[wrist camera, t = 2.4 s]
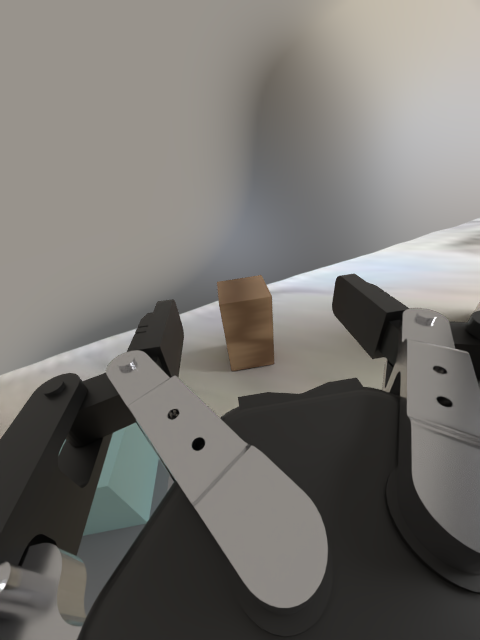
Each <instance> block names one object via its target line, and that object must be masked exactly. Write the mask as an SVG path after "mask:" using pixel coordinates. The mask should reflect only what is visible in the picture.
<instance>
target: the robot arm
mask: <svg viewBox="0 0 480 640" xmlns="http://www.w3.org/2000/svg"><path fill="white" fill-rule="evenodd" d="M332 309H333V313H334V315H335V316H336V317H337V319H338V320H339V321H340V322H341V323H342V324H343V326H344V327H345V328H346V329H347V330H348V331H349V332H350V334H351V335H352V336H353V337H354V338H355V339H356V340H357V342H358V343H359V344H360V345H361V346H362V347H363V349H364V350H365V351H366V352H367V353H368V354H369V355H370V357H371V358H372V359H375V358H382V357H386V358H387V360H386V363H385V366H384V375H383V385H382V390H379V389H375V388H369V387H363V386H362V384H361V383H360V382H359V380H358V379H357V378H352V379H346V380H340V381H334V382H328V383H326V384H323V385H321V386H319V387H316V388H314V389H312V390H309V391H307V392H305V393H302V394H290V393H271V392H267V393H260V394H254V395H248V396H242V397H238V400H239V407H237V408H235V409H233V410H231V411H229V412H228V413H226V414H225V415H223V416H222V417H221V418H219V417H218V416H217V415H216V414H215V413H214V412H213V411H212V410H211V409H210V408H209V407H208V406H207V405H206V404H205V403H204V402H203V401H202V400H201V399H200V398H199V397H198V396H197V395H196V394H194V393H193V392H192V391H191V390H190V389H189V388H188V387H187V386H186V385H185V384H184V383H183V382H182V381H181V380H180V379H179V378H178V376H179V368H180V361H181V354H182V347H183V340H184V332H183V326H182V323H181V320H180V316H179V313H178V309H177V306H176V303H175V301H174V300H173V299H172V300H166V301H158V302H157V304H156V306H155V309H154V312H153V313H148V314H147V315H146V316H144V317H143V318H142V319H141V321H140V324H139V325H138V328H137V330H136V332H135V333H136V334H135V335H134V337H133V339H132V341H131V344H130V346H129V348H128V350H127V352H126V353H123V354H121V355H119V356H118V357H116V358H115V359H113V360H112V361H111V362H110V363H109V365H108V366H107V369H106V373H104V374H101V375H99V376H96V377H93V378H90V379H88V380H85V381H82V380H81V379H80V377H79V376H78V375H76V374H73V373H67V374H62V375H59V376H56V377H54V378H52V379H50V380H48V381H47V382H45V383H44V384H42V385H41V386H40V387H39V388H37V389H36V390H35V392H34V393H33V394H32V395H31V397H30V398H29V400H28V401H27V403H26V404H25V405H24V407H23V408H22V410H21V411H20V412H19V414H18V415H17V417H16V418H15V420H14V421H13V422H12V424H11V425H10V427H9V428H8V429H7V431H6V432H5V434H4V435H3V437H2V438H1V439H0V640H480V302H479V304H478V306H477V308H476V310H475V311H474V313H473V314H472V316H471V317H470V319H469V321H468V322H449V320H448V319H447V318H446V317H445V316H443V315H442V314H440V313H438V312H435V311H432V310H428V309H422V308H411V309H409V308H408V307H406V306H405V305H403V304H402V303H401V302H399V301H398V300H396V299H395V298H393V297H392V296H391V297H390V295H389V294H388V293H386V292H384V291H383V290H382V289H380V288H379V287H377V286H376V285H373V284H370V283H368V282H366V281H364V280H363V279H362V278H360V277H359V276H357V275H356V274H349V275H342V276H338V277H337V279H336V282H335V289H334V295H333V302H332ZM134 423H136V424H137V425H138V427H139V428H140V430H141V431H142V433H143V434H144V436H145V438H146V439H147V441H148V442H149V444H150V445H151V447H152V448H153V450H154V452H155V453H156V455H157V456H158V458H159V459H160V461H161V463H162V464H163V466H164V467H165V469H166V471H167V472H168V474H169V475H170V477H171V478H172V480H173V482H174V483H173V484H172V486H171V487H170V489H169V490H168V492H167V493H166V495H165V496H164V498H163V499H162V501H161V502H160V504H159V505H158V507H157V508H156V510H155V511H154V513H153V514H152V516H151V517H150V518H149V520H148V521H147V523H146V524H145V526H144V527H143V529H142V530H141V532H140V533H139V535H138V536H137V538H136V539H135V541H134V542H133V544H132V545H131V547H130V548H129V550H128V551H127V553H126V554H125V556H124V557H123V559H122V560H121V562H120V563H119V565H118V566H117V568H116V569H115V571H114V572H113V574H112V575H111V577H110V578H109V580H108V581H107V583H106V584H105V586H104V587H103V589H102V590H101V592H100V593H99V595H98V596H97V598H96V600H95V602H94V603H93V605H92V607H91V609H90V611H89V613H88V615H87V617H86V614H85V609H84V594H85V587H86V580H87V573H86V567H85V564H84V562H83V561H82V560H81V559H80V558H79V557H77V553H78V550H79V546H80V543H81V540H82V536H83V533H84V529H85V526H86V523H87V519H88V516H89V512H90V509H91V506H92V502H93V499H94V495H95V492H96V489H97V485H98V482H99V479H100V475H101V472H102V468H103V465H104V462H105V458H106V455H107V451H108V448H109V445H110V441H111V438H112V434H113V433H114V432H116V431H118V430H120V429H123V428H125V427H127V426H129V425H131V424H134ZM65 439H66V441H65ZM64 441H65V443H64ZM63 443H64V445H63ZM62 445H63V447H62ZM61 448H62V449H61ZM60 450H61V451H60ZM59 452H60V454H59ZM58 455H59V456H58Z"/></svg>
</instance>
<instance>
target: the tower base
mask: <svg viewBox="0 0 480 640" xmlns="http://www.w3.org/2000/svg"><path fill="white" fill-rule="evenodd" d="M65 441H66V439H65ZM65 441H64V443H65ZM64 443H63V445H64ZM63 445H62V447H63ZM61 449H62V448H61ZM60 451H61V450H60ZM59 454H60V452H59ZM58 456H59V455H58ZM172 484H173V480H172V478H171V477H170V475H169V474H168V472H167V471H166V469H165V467H164V466H163V464H162V463H161V461H160V459H159V458H158V456H157V455H156V453H155V452H154V450H153V448H152V447H151V445H150V444H149V442H148V441H147V439H146V438H145V436H144V434H143V433H142V431H141V430H140V428H139V427H138V425H137V424H136V423H134V424H131V425H129V426H127V427H125V428H123V429H120V430H118V431H116V432H114V433H113V434H112V438H111V441H110V445H109V448H108V451H107V455H106V458H105V462H104V465H103V468H102V472H101V475H100V479H99V482H98V485H97V489H96V492H95V495H94V499H93V502H92V506H91V509H90V512H89V516H88V519H87V523H86V526H85V529H84V533H83V536H82V540H81V543H80V546H79V550H78V553H77V557H79V558H80V559H81V560H82V561H83V562H84V564H85V567H86V573H87V580H86V587H85V594H84V609H85V614H86V617H87V615H88V613H89V611H90V609H91V607H92V605H93V603H94V602H95V600H96V598H97V596H98V595H99V593H100V592H101V590H102V589H103V587H104V586H105V584H106V583H107V581H108V580H109V578H110V577H111V575H112V574H113V572H114V571H115V569H116V568H117V566H118V565H119V563H120V562H121V560H122V559H123V557H124V556H125V554H126V553H127V551H128V550H129V548H130V547H131V545H132V544H133V542H134V541H135V539H136V538H137V536H138V535H139V533H140V532H141V530H142V529H143V527H144V526H145V524H146V523H147V521H148V520H149V518H150V517H151V516H152V514H153V513H154V511H155V510H156V508H157V507H158V505H159V504H160V502H161V501H162V499H163V498H164V496H165V495H166V493H167V492H168V490H169V489H170V487H171V486H172Z"/></svg>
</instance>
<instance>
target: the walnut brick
mask: <svg viewBox="0 0 480 640" xmlns="http://www.w3.org/2000/svg"><path fill="white" fill-rule="evenodd" d="M217 286H218V297H219V306H220V312H221V317H222V322H223V328H224V333H225V338H226V344H227V349H228V354H229V359H230V365H231V370H232V371H235V370H241V369H247V368H253V367H259V366H265V365H271V364H274V344H273V315H272V296H271V294H270V292H269V290H268V288H267V286H266V284H265V282H264V279H263V278H262V276H261V275H260V276H253V277H247V278H240V279H234V280H227V281H220V282H217Z"/></svg>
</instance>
